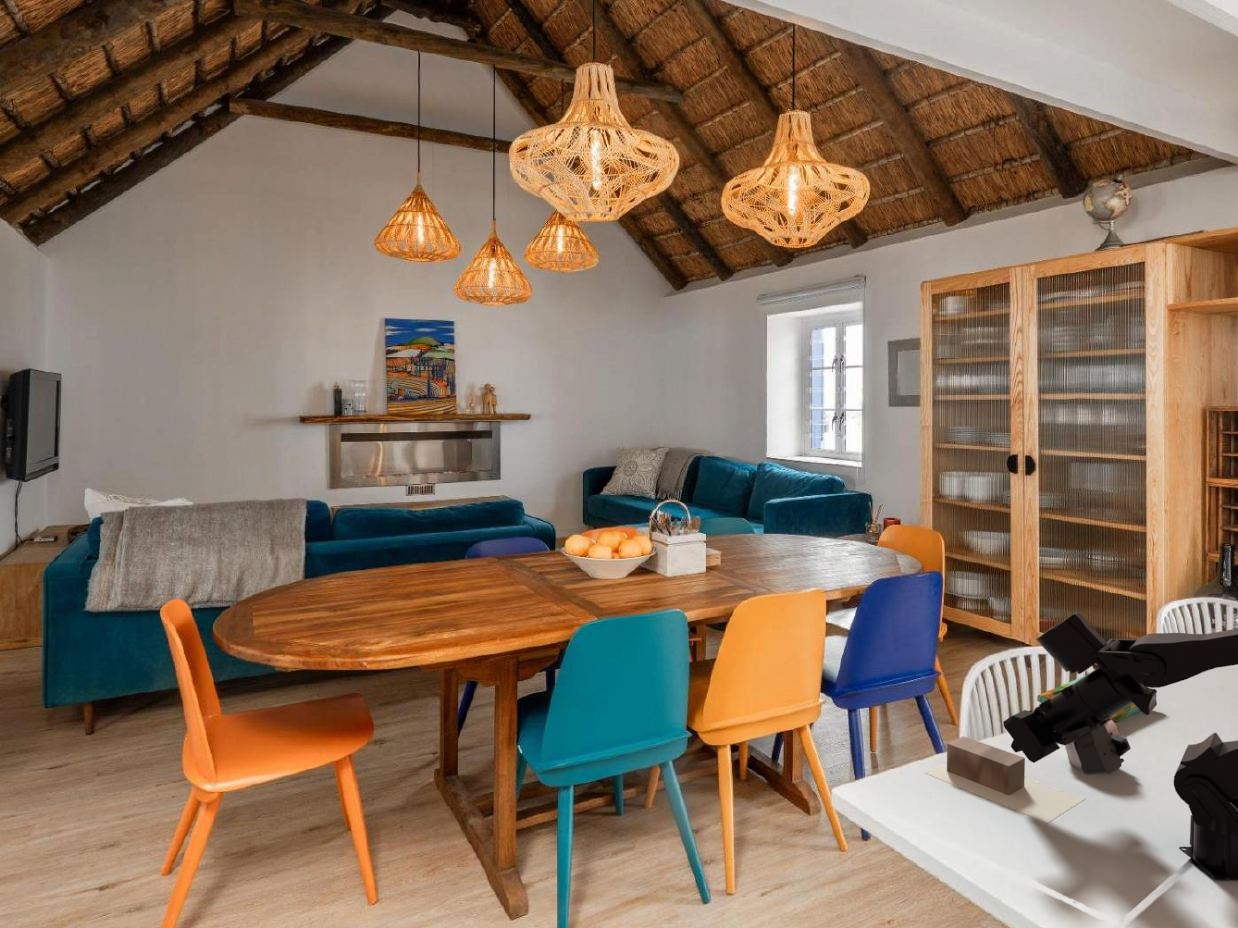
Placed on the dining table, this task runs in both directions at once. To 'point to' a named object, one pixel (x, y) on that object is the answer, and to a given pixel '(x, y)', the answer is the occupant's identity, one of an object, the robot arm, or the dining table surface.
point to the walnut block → (986, 765)
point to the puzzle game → (1051, 693)
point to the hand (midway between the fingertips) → (1014, 748)
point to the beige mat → (1018, 795)
